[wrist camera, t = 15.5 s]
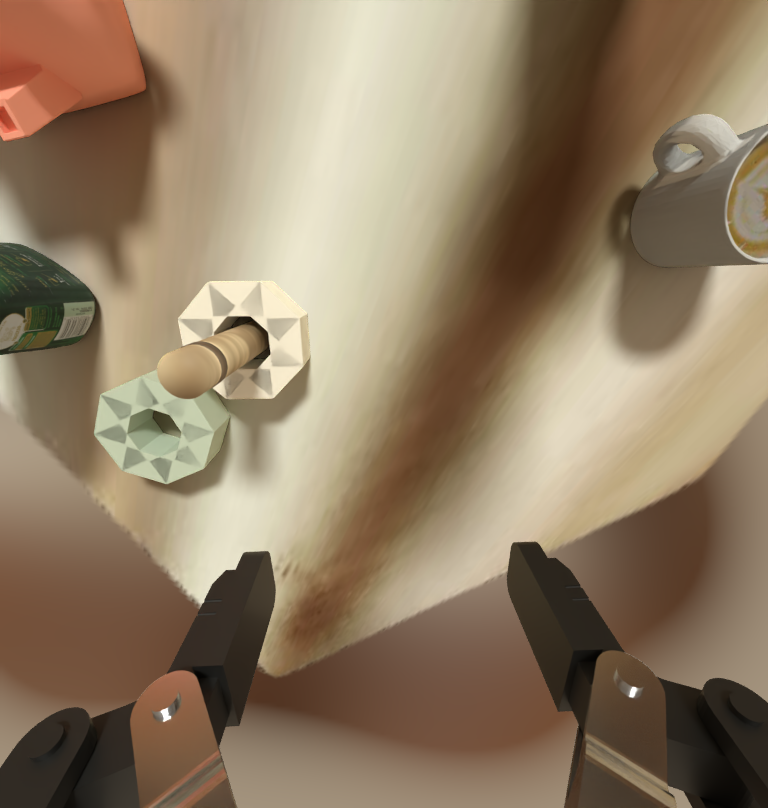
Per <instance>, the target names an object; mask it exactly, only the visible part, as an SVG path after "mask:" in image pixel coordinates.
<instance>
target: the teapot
mask: <svg viewBox="0 0 768 808" xmlns="http://www.w3.org/2000/svg"><path fill="white" fill-rule="evenodd" d="M145 89H146V80H145V75H144V70H143V67H142V63H141V59H140V56H139V52H138V49H137V46H136V42H135V39H134V36H133V32H132V29H131V26H130V23H129V19H128V16H127V13H126V10H125V7H124V3H123V0H0V136H1V137H2V139H3V141H7V142H8V141H12V140H17V139H21V138H25V137H30V136H31V135H32V134H34V133H35V132H37V131H38V130H39V129H41V128H42V127H44V126H45V125H47V124H48V123H49V122H51V121H52V120H54V119H55V118H57V117H58V116H59V115H61V114H64V113H68V112H73V111H77V110H81V109H85V108H89V107H92V106H96V105H100V104H104V103H107V102H111V101H114V100H118V99H122V98H125V97H128V96H131V95H134V94H138V93H140V92H142V91H144V90H145Z"/></svg>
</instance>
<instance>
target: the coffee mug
mask: <svg viewBox="0 0 768 808" xmlns="http://www.w3.org/2000/svg"><path fill="white" fill-rule="evenodd" d="M680 143H685V144H692V145H693V146H695V147H696V148H698V149H699V151H696V152H693V153H691V154H686V153H684V152H682V151H681V150H680V148H679V147H678V146H677V144H680ZM653 159H654V162H655V164H656V167H657V169H658V171H657V172H656V173H655V174H654V175H653V176H652V177H651V178H650V179H649V180H648V181H647V183H646V184H645V185H644V187H643V189H642V190H641V192H640V193H639V195H638V197H637V199H636V202H635V205H634V208H633V212H632V216H631V226H630V227H631V237H632V241H633V244H634V246H635V249H636V250H637V252H638V253H639V255H640V256H641V257H642V258H643V259H644V260H646V261H647V262H649V263H651V264H653V265H655V266H658V267H667V268H668V267H697V266H727V265H756V264H768V124H766V125H764V126H761V127H758V128H756V129H753V130H751V131H748V132H745V133H743V134H740V135H738V136H737V135H736V134H735V133H734V131H733V130H732V128H731V127H730V126H729V124H728V123H726V122H725V121H724V120H723V119H722V118H719V117H717V116H714V115H712V114H701V115H694V116H691V117H689V118H686V119H684V120H682V121H679V122H677V123H676V124H675V125H673V126H672V127H670V128H669V129H668V130H667V131H666V132H665V133H664V134H663V135H662V136H661V137H660V139H659V140H658V142H657V143H656V144H655V148H654V151H653Z"/></svg>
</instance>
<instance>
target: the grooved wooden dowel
mask: <svg viewBox="0 0 768 808" xmlns="http://www.w3.org/2000/svg"><path fill="white" fill-rule="evenodd" d="M269 347H270V344H269V335H268V331H266V330H265V329H264V328H263V327H262V326H261V325H260V324H259V323H257V322H256V321H251V322H248V323H245V324H243V325H240V326H237V327H235V328H232V329H229V330H227V331H224V332H222V333H219V334H216V335H214V336H211V337H208V338H206V339H203V340H200V341H197V342H193V343H190V344H188V345H185V346H183V347H181V348H179V349H176V350H174V351H171V352H169V353H167V354H165V355H164V356H163V357H162V358H161V359H160V361H159V363H158V366H157V375H158V379H159V381H160V383H161V385H162V386H163V387H164V388H165V390H166V391H168V392H169V393H170V394H172V395H174V396H176V397H178V398H182V399H193V398H197V397H199V396H201V395H202V394H203V393H205V392H206V391H208V390H209V389H211V388H213V387H215V386H216V385H217V384H219V383H220V382H222V381H223V379H225V378H226V377H228V376H229V375H230V374H232V373H233V372H235V371H236V370H237V369H239V368H240V367H242V366H243V365H245V364H246V363H247V362H249V361H250V360H252V359H253V358H255V357H256V356H257V355H259V354H260V353H262V352H263V351H264V350H266V349H267V348H269Z"/></svg>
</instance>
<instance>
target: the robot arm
mask: <svg viewBox="0 0 768 808" xmlns="http://www.w3.org/2000/svg"><path fill="white" fill-rule="evenodd" d="M507 586H508V592H509V595H510V598H511V600H512V603H513V605H514V608H515V610H516V612H517V615H518V617H519V620H520V622H521V624H522V627H523V629H524V631H525V634H526V636H527V639H528V641H529V643H530V645H531V648H532V650H533V653H534V655H535V658H536V660H537V662H538V665H539V667H540V669H541V672H542V674H543V677H544V679H545V681H546V684H547V686H548V688H549V691H550V693H551V695H552V698H553V700H554V703H555V705H556V707H557V710H558V711H559V712H560V711H573V713H574V715H575V717H576V719H577V721H578V728H577V733H576V739H575V745H574V751H573V756H572V763H571V768H570V774H569V780H568V786H567V792H566V798H565V804H564V808H677V805H676V800H675V798H674V796H673V795H672V794H671V793H669V790H668V786H670V787H673V788H677V789H679V790H682V791H684V793H685V795H686V796H687V798H688V800H689V802H690V804H691V806H692V808H768V703H767V702H766V701H765V700H764V699H762V698H761V697H760V696H759V695H757V694H756V693H754V692H753V691H752V690H750V689H748V688H746V687H744V686H742V685H740V684H739V683H736V682H734V681H731V680H727V679H723V678H713V679H710V680H708V681H707V682H706V683H705V685H704V687H703V689H702V690H699V689H696V688H692V687H689V686H685V685H681V684H677V683H674V682H670V681H667V680H664V679H661V678H659V677H657V676H656V675H655V674H654V673H653V672H652V671H651V669H650V668H649V667H648V666H646V665H645V664H644V663H643V662H641V661H639V660H638V659H637V658H635V657H633V656H631V655H629V654H627V653H625V652H624V650H623V649H622V648H621V646H620V645H619V643H618V642H617V640H616V639H615V637H614V635H613V634H612V632H611V631H610V629H609V628H608V626H607V625H606V624H605V622H604V620H603V619H602V617H601V616H600V615H599V613H598V611H597V610H596V608H595V607H594V605H593V604H592V602H591V601H589V599H588V596H587V595H586V593H585V592H584V590H583V589H582V588H581V587H580V584H579V582H578V581H577V579H576V578H575V576H574V575H573V573H572V572H571V571H570V570H569V569H568V568H567V567H566V566H565V565H564V564H562V563H561V562H560V561H559V560H558V559H556V558H547V556H546V555H545V553H544V551H543V550H542V548H541V546H540V545H539V544H538V543H537V542H514V543H512V546H511V552H510V559H509V566H508V574H507ZM275 593H276V588H275V581H274V575H273V569H272V563H271V557H270V553H269V552H268V551H261V552H245V553H243V555H242V557H241V559H240V561H239V563H238V566H237V568H236V570H226V571H225V572H224V573H223V574H222V575H221V576H220V577H219V578H218V579H217V580H216V581H215V582H214V583H213V584H212V586H211V588H210V590H209V592H208V594H207V596H206V598H205V601H204V603H203V604H202V606H201V608H200V610H199V612H198V616H196V618H195V620H194V622H193V624H192V626H191V628H190V630H189V632H188V634H187V636H186V638H185V640H184V642H183V643H182V645H181V647H180V649H179V651H178V654H177V655H176V657H175V659H174V661H173V663H172V665H171V667H170V669H169V671H168V672H167V674H166V675H164V676H162V677H161V678H159V679H157V680H156V681H155V682H153V683H152V684H151V685H150V686H149V687H148V688H147V689H146V690H145V691H144V692H143V693H142V695H141V696H140V697H139V699H138V700H137V701H135V702H133V703H131V704H128V705H126V706H123V707H121V708H118V709H115V710H113V711H110V712H107V713H105V714H102V715H99V716H96V717H94V718H90V717H89V714H88V713H87V712H86V710H84V709H82V708H78V707H77V708H76V707H74V708H67V709H64V710H61V711H59V712H56V713H54V714H52V715H51V716H49V717H47V718H46V719H44V720H43V721H41V722H40V723H38V724H37V725H36V726H35V727H34V728H32V729H31V730H30V731H29V732H28V733H27V734H26V735H25V736H24V737H23V738H22V739H21V740H20V741H19V743H18V744H17V745H16V746H15V748H14V749H13V751H12V752H11V753H10V755H9V756H8V758H7V759H6V760H5V762H4V763H3V765H2V766H1V768H0V808H237V806H236V802H235V799H234V796H233V792H232V789H231V786H230V783H229V779H228V776H227V772H226V769H225V766H224V762H223V759H222V756H221V752H220V749H219V745H220V742H221V739H222V736H223V733H224V730H225V727H227V726H239V725H240V721H241V718H242V714H243V711H244V708H245V704H246V701H247V697H248V693H249V690H250V687H251V683H252V680H253V677H254V673H255V670H256V666H257V663H258V659H259V656H260V652H261V649H262V646H263V642H264V639H265V635H266V632H267V628H268V625H269V621H270V618H271V614H272V611H273V607H274V603H275Z"/></svg>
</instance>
